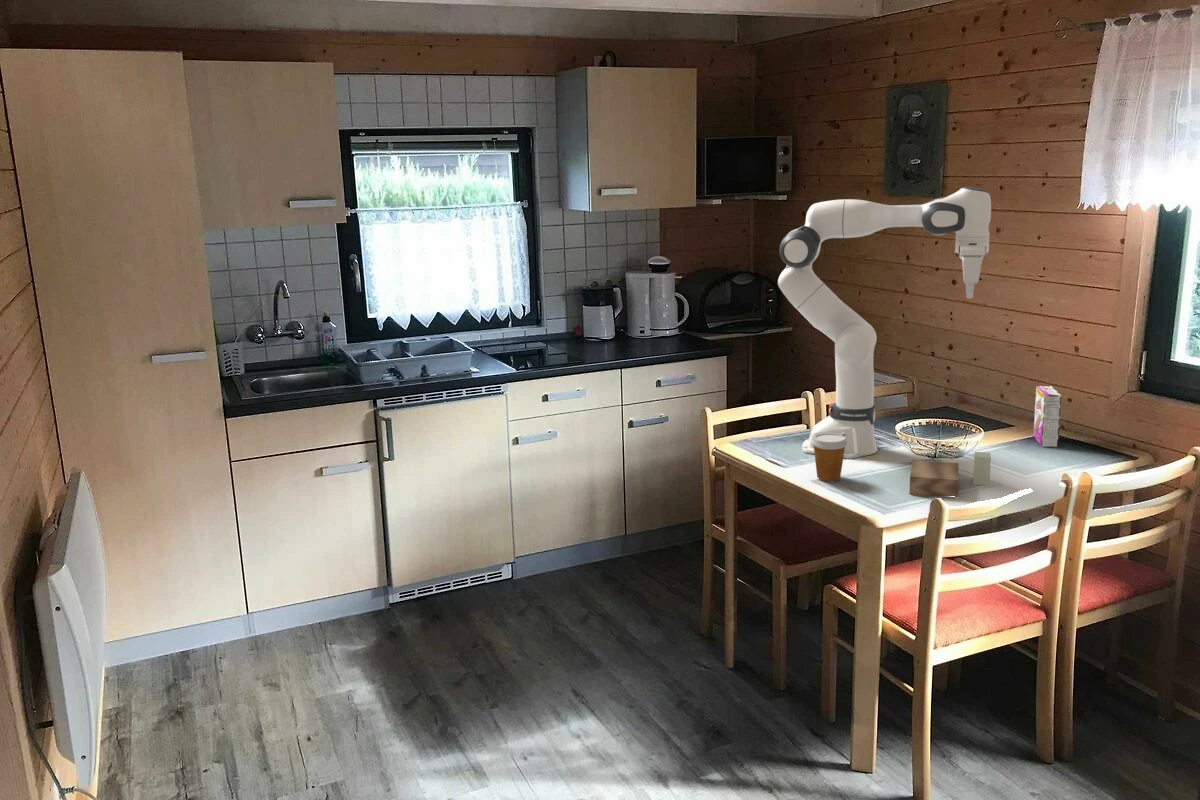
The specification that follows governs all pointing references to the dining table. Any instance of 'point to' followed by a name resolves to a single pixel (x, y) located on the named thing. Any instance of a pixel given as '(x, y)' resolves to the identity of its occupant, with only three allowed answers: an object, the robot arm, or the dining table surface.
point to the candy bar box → (1047, 416)
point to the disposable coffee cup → (829, 455)
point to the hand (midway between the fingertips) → (969, 295)
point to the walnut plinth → (934, 478)
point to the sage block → (981, 468)
